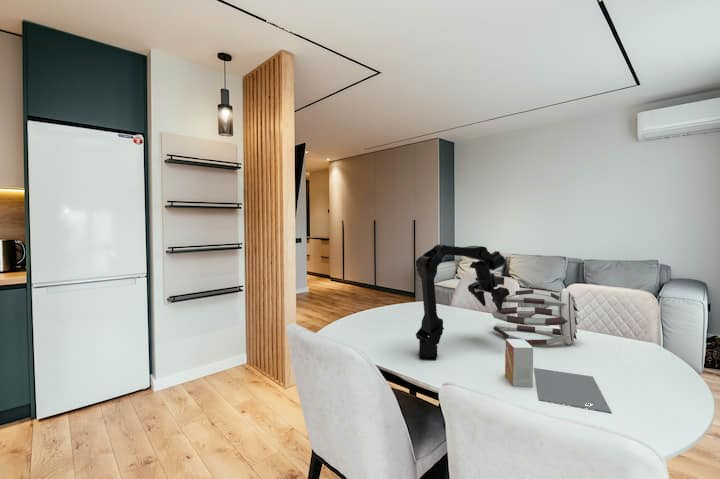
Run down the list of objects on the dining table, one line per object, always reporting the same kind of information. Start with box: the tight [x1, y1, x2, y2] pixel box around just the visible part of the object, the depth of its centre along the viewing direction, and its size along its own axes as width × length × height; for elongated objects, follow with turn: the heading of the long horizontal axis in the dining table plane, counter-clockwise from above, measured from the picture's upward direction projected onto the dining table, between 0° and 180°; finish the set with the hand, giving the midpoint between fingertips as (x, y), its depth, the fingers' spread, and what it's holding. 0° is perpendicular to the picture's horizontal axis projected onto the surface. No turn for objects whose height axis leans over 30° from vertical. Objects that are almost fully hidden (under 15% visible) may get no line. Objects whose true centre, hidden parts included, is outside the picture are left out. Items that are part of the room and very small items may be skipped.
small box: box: [504, 338, 534, 388], centre depth 115 cm, size 8×6×13 cm
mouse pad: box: [533, 367, 612, 414], centre depth 110 cm, size 18×24×1 cm
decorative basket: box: [491, 288, 580, 346], centre depth 156 cm, size 24×27×35 cm
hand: (492, 308), depth 148 cm, fingers open, 9 cm apart
